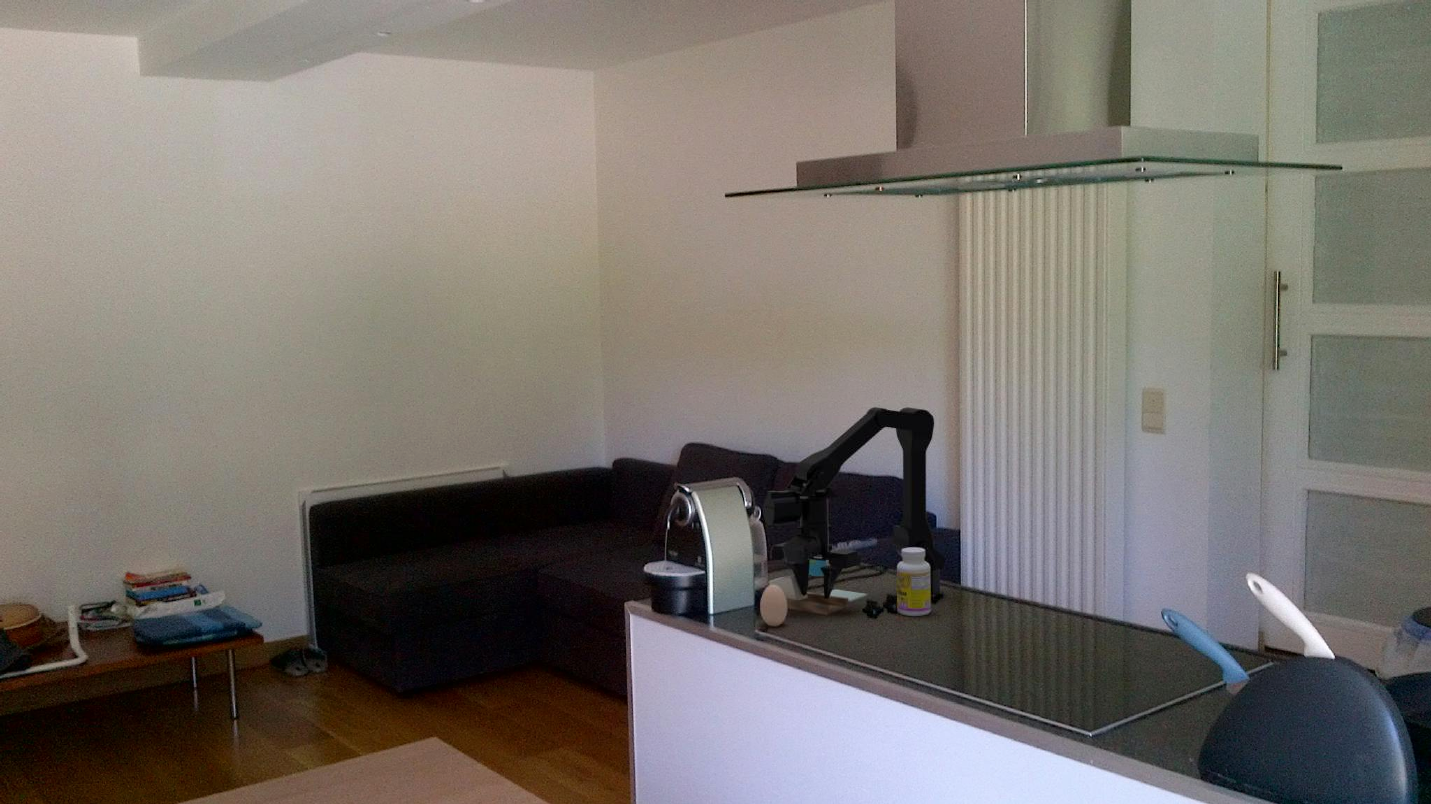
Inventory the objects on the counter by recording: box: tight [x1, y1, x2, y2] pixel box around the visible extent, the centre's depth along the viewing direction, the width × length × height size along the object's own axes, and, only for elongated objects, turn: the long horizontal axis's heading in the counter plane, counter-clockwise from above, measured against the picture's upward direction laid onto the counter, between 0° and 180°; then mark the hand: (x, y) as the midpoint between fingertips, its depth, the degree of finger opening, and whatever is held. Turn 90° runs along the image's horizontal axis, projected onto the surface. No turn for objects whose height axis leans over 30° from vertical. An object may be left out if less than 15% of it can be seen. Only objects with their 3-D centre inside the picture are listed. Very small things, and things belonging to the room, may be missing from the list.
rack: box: [786, 591, 850, 616], centre depth 259 cm, size 13×8×2 cm, turn 50°
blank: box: [768, 575, 808, 600], centre depth 262 cm, size 6×4×5 cm, turn 50°
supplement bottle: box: [896, 547, 932, 617], centre depth 252 cm, size 7×7×13 cm
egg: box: [759, 585, 788, 627], centre depth 245 cm, size 5×5×8 cm
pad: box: [822, 588, 868, 603], centre depth 266 cm, size 8×8×1 cm
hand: (815, 597), depth 258 cm, fingers open, 5 cm apart
